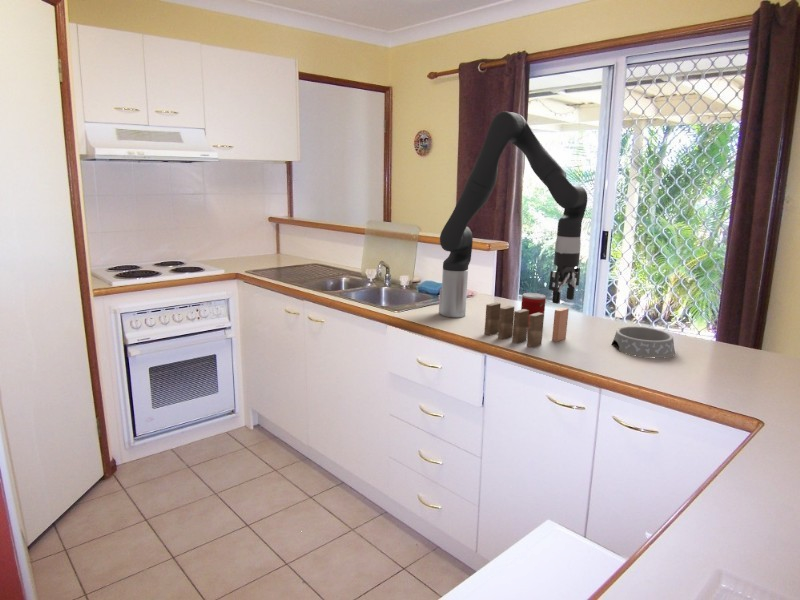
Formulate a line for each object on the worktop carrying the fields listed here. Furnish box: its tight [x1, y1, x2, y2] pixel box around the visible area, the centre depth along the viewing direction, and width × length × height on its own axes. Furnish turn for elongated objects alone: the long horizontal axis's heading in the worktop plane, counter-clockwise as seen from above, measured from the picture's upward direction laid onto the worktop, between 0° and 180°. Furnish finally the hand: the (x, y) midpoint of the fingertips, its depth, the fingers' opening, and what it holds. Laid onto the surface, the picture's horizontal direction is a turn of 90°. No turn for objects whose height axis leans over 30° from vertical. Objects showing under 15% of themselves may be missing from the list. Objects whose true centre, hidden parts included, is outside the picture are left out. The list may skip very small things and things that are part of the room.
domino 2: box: [497, 305, 515, 340], centre depth 176 cm, size 2×5×10 cm, turn 134°
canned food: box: [520, 292, 547, 326], centre depth 190 cm, size 8×8×11 cm
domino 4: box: [526, 312, 545, 349], centre depth 168 cm, size 2×5×10 cm, turn 134°
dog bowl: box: [611, 325, 676, 359], centre depth 168 cm, size 17×18×5 cm
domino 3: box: [511, 308, 529, 344], centre depth 172 cm, size 2×5×10 cm, turn 133°
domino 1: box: [484, 302, 502, 336], centre depth 180 cm, size 2×5×10 cm, turn 133°
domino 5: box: [551, 307, 570, 342], centre depth 175 cm, size 2×5×10 cm, turn 133°
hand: (562, 301), depth 173 cm, fingers open, 8 cm apart
